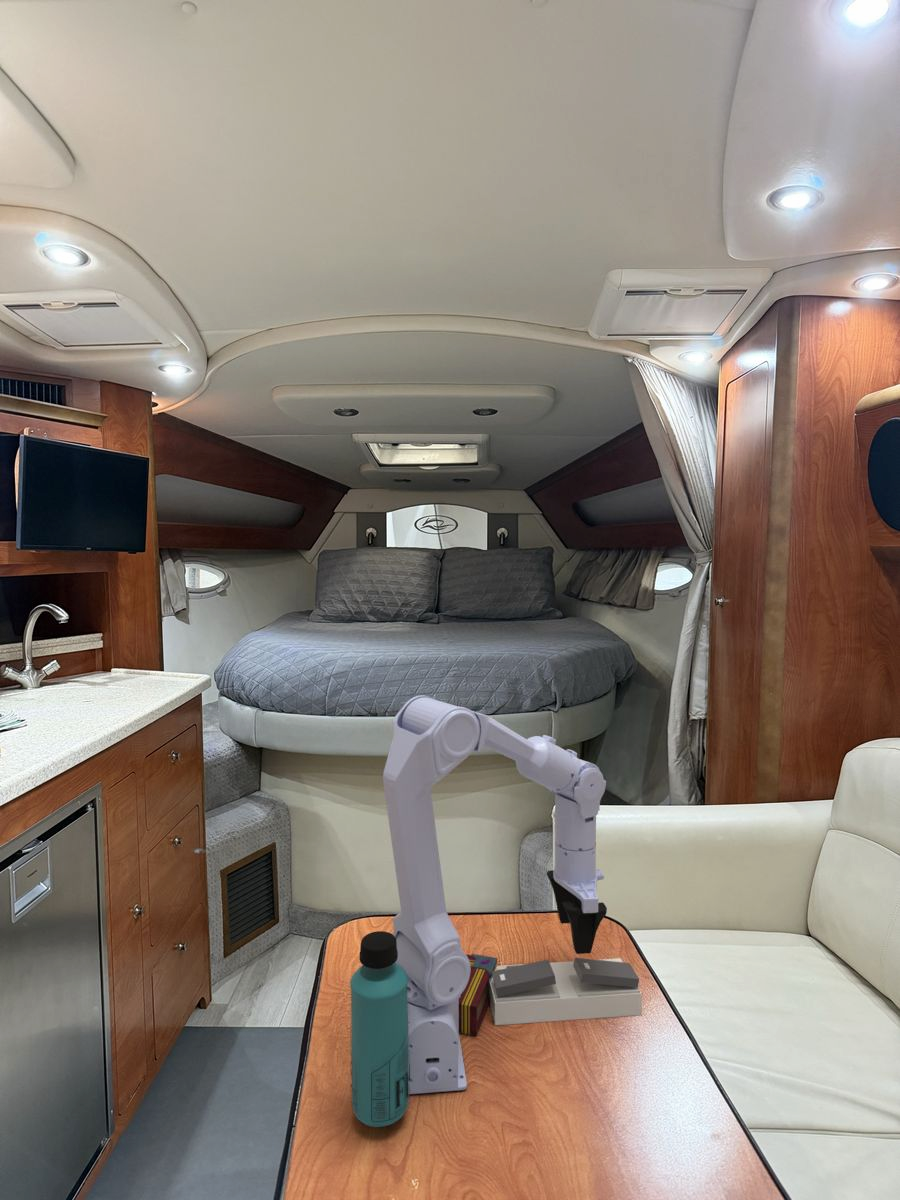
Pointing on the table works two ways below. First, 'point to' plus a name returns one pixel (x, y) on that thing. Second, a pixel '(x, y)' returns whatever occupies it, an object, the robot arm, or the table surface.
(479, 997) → the decorative book
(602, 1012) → the base
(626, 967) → the rocker outer
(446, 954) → the robot arm
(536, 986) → the rocker inboard
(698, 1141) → the table surface
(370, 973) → the beverage bottle
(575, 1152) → the table surface
